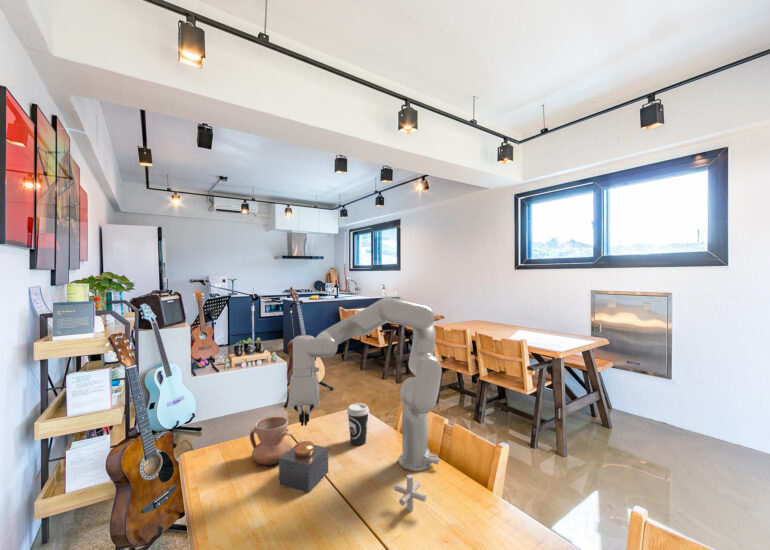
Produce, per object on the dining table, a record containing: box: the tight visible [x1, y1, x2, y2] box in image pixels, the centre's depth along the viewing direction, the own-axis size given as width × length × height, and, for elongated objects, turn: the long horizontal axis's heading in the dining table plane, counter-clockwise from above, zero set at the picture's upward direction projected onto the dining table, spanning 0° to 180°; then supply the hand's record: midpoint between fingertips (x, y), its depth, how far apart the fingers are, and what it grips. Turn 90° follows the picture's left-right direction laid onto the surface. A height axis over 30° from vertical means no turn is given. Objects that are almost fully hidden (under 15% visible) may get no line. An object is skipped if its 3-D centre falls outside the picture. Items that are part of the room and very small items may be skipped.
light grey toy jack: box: [393, 474, 427, 512], centre depth 100 cm, size 10×10×10 cm
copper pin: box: [294, 440, 315, 458], centre depth 116 cm, size 6×6×10 cm
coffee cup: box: [346, 402, 370, 447], centre depth 141 cm, size 10×10×15 cm
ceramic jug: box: [249, 416, 293, 466], centre depth 129 cm, size 18×14×14 cm
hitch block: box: [278, 444, 329, 494], centre depth 116 cm, size 12×12×9 cm
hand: (304, 423), depth 116 cm, fingers closed
